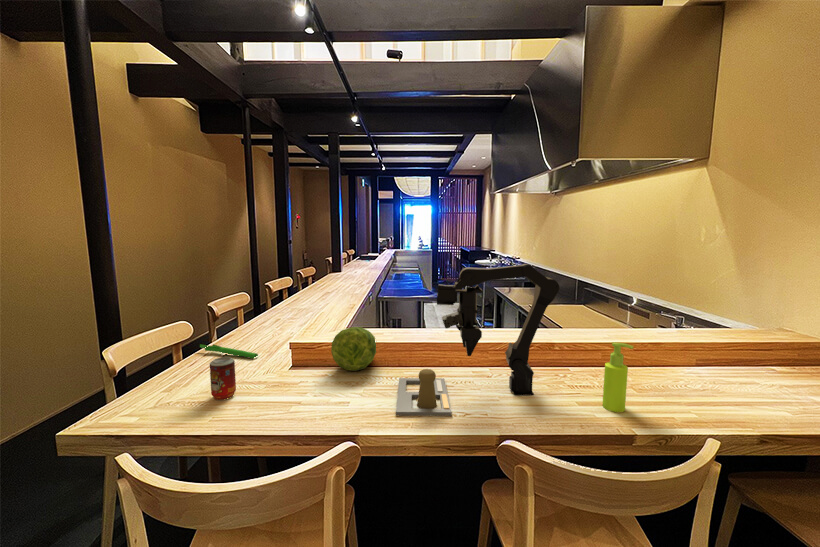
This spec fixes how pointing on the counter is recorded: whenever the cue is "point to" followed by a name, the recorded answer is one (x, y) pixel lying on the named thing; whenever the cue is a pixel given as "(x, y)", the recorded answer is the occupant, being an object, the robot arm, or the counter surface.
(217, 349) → the green onion
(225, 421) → the counter surface
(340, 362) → the lettuce
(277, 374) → the counter surface
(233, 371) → the soda can
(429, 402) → the cork
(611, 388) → the soap dispenser
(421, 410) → the panel
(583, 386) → the counter surface
